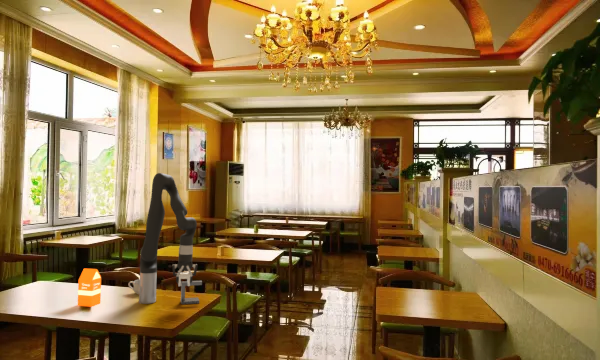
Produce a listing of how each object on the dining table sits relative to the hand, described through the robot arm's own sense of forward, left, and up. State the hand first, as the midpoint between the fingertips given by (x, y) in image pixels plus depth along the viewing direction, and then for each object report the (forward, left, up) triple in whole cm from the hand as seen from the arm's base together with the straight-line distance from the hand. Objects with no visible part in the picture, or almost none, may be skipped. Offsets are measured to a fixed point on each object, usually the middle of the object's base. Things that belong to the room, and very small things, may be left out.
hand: (184, 283), depth 238 cm
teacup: (-24, +39, -14) cm, 48 cm away
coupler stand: (+4, +10, -13) cm, 17 cm away
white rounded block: (0, 0, -1) cm, 1 cm away
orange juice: (-50, +19, -14) cm, 55 cm away
